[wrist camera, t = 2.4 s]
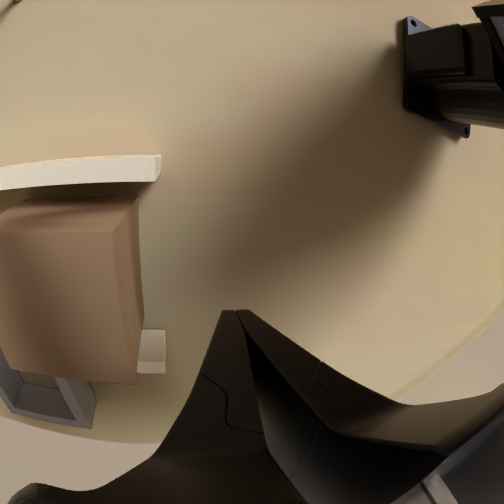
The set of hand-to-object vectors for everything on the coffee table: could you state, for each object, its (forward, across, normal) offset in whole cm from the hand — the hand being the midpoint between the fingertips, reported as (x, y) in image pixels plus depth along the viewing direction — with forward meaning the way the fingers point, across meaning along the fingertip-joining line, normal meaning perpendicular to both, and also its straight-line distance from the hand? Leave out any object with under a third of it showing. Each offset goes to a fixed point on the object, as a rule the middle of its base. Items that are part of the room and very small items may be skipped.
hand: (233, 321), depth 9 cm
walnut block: (+5, +7, 0) cm, 8 cm away
